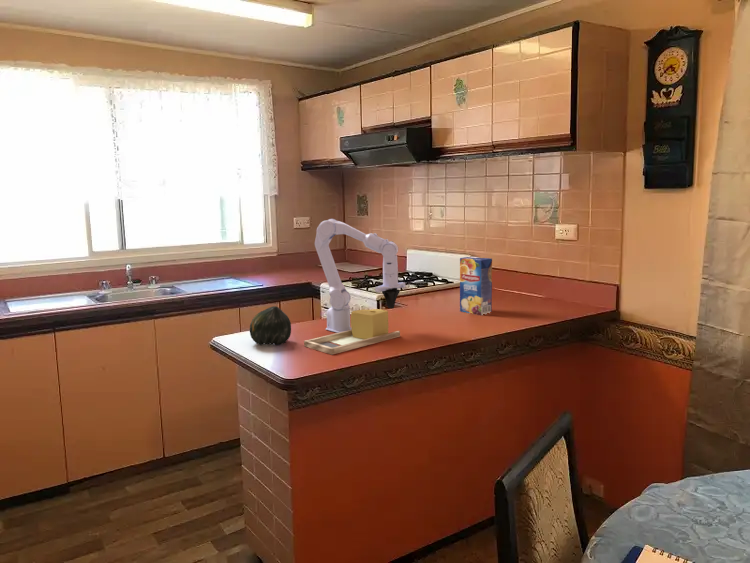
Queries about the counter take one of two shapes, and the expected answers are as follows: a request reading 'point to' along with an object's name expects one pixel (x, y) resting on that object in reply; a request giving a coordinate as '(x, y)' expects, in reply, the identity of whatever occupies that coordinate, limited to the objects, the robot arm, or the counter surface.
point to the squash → (270, 327)
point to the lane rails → (315, 344)
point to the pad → (346, 340)
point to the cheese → (369, 323)
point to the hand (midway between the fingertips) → (390, 308)
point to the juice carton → (476, 285)
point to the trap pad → (329, 344)
